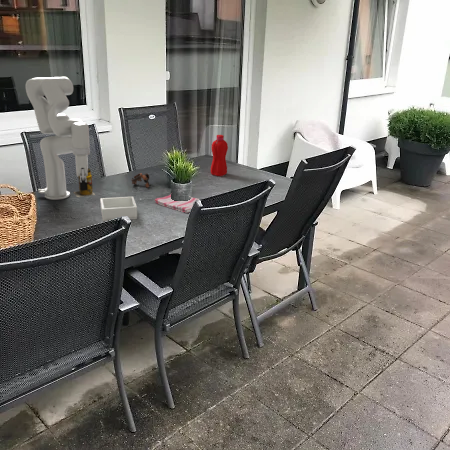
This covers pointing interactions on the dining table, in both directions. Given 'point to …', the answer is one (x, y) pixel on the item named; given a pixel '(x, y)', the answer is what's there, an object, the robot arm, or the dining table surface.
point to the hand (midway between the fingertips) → (83, 187)
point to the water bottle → (219, 156)
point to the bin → (118, 208)
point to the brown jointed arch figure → (138, 178)
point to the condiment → (89, 186)
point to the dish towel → (176, 203)
